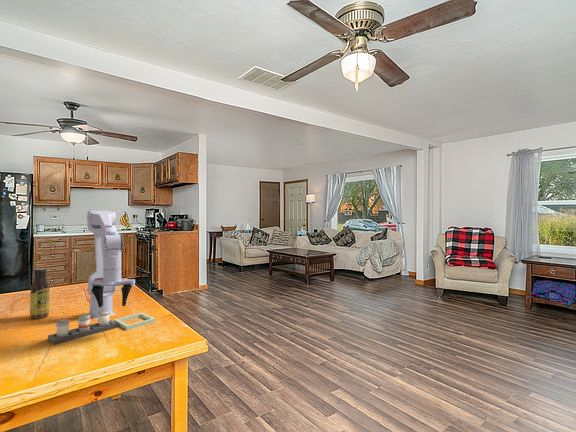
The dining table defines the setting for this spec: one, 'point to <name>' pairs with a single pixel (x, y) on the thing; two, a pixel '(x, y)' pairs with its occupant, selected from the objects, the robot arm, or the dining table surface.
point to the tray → (131, 326)
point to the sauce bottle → (39, 295)
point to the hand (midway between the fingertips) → (112, 305)
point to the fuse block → (81, 333)
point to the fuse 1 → (62, 328)
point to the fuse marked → (83, 323)
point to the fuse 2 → (103, 318)
